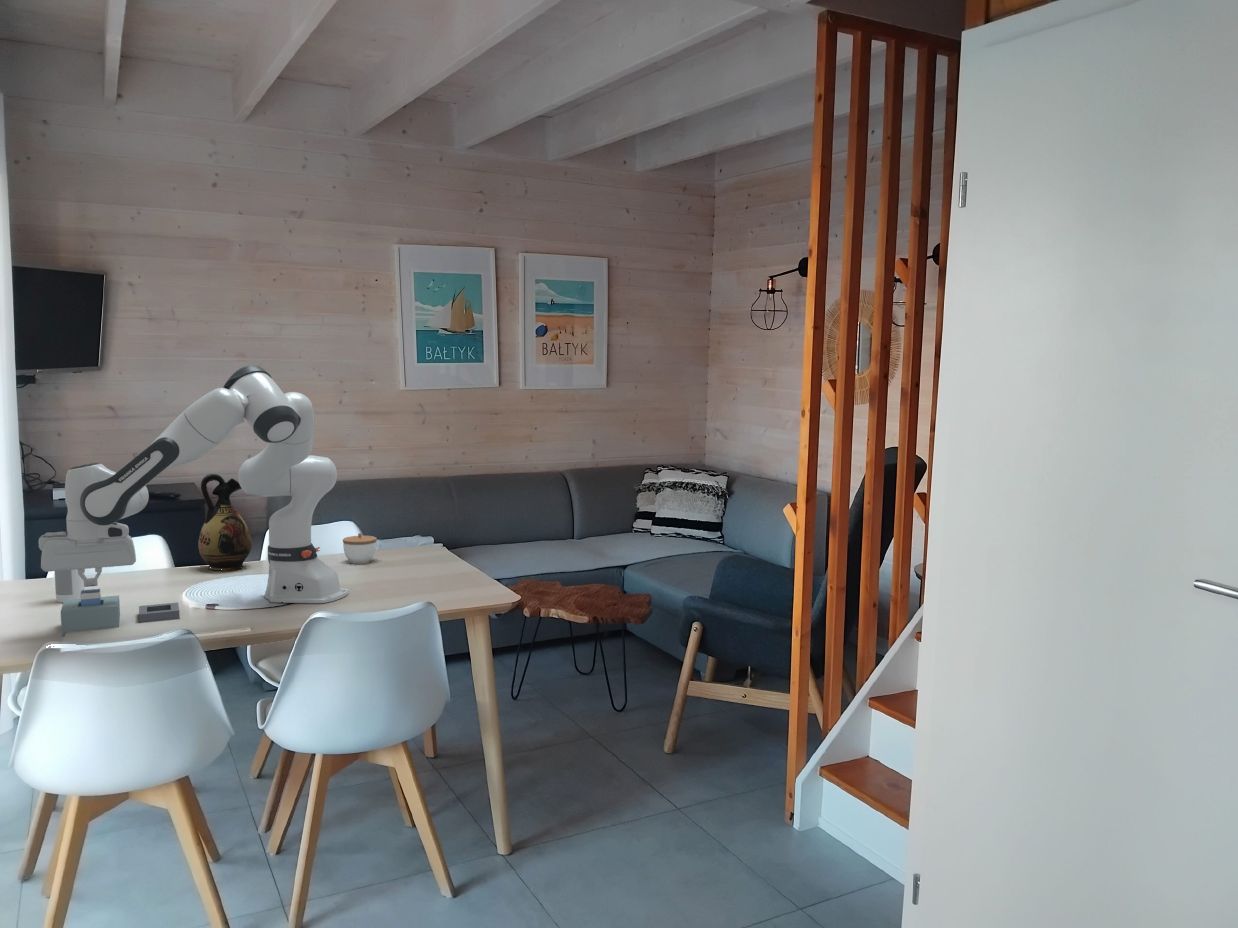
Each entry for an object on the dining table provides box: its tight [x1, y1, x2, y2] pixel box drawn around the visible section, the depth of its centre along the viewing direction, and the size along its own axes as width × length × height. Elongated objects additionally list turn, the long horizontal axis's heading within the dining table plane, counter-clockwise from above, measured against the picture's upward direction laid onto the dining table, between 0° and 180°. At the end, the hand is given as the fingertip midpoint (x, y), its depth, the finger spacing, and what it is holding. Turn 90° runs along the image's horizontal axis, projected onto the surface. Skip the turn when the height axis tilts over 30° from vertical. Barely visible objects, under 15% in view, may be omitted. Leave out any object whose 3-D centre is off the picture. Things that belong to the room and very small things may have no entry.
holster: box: [138, 602, 181, 624], centre depth 240 cm, size 9×9×3 cm
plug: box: [80, 588, 102, 607], centre depth 233 cm, size 4×4×9 cm
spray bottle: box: [54, 569, 85, 604], centre depth 259 cm, size 7×7×18 cm
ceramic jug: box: [198, 473, 253, 571], centre depth 299 cm, size 17×15×30 cm
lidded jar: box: [342, 533, 378, 565], centre depth 312 cm, size 11×11×9 cm
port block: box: [60, 594, 121, 637], centre depth 233 cm, size 12×12×6 cm
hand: (90, 586), depth 233 cm, fingers closed
